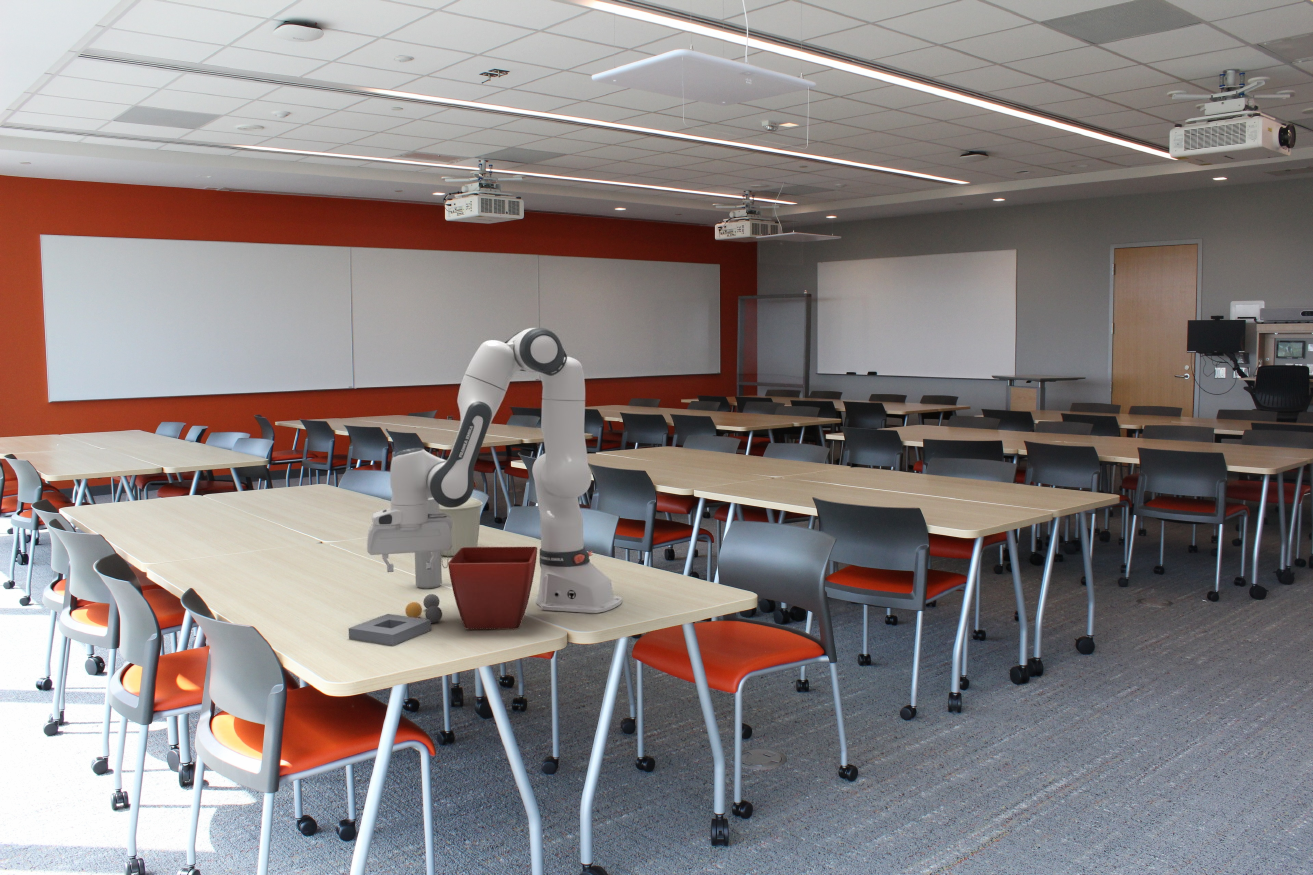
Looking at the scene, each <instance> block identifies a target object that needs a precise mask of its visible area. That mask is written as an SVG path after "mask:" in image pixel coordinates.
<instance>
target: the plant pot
mask: <svg viewBox="0 0 1313 875" xmlns="http://www.w3.org/2000/svg"><path fill="white" fill-rule="evenodd" d="M537 554H538V547H537V546H477V547H464V548H460V550H459V551H458V552H457V553H456V555H455V556H452V558H451V559H450V560H448V572H449V578H450V582H451V587H452V588H451V589H452V592H453V597H454V600H455V603H456V607H457V611H458V613H459V616H460V619H461V622H462V624H463V626H464V628H465V629H466V630H517V629H519V628H520V627H521V625H522V622H523V619H524V618H525V614H526V611H527V607H528V604H529V598H530V595H531V590H532V587H533V582H534V576H535V570H536V564H537V557H538V556H537Z"/></svg>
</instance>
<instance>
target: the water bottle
mask: <svg viewBox="0 0 1313 875" xmlns="http://www.w3.org/2000/svg"><path fill="white" fill-rule="evenodd" d="M428 514H440V507H439V504H438V503H437V502H436V501H435V500H434V498H429V499H428ZM446 557H447V558H449V556H448V553H447V556H446ZM431 558H432V555H431V552H416V553H414V570H415V574H414V575H415V586H417V587H418V588H419V589H424V590H425V589H428V590H429V589H435V588H438V587H440V586H441V584H442V583H443V580H442V579H443V578H442V577H443V575H442V567H443V569H448V568H449V566H448V562H449V560H447V564H446V566H444V564H443V563H444V561H443V560H442V555H441V551H438V556H437V558H436V559H435V561H434V563H433V569H432V570H427V564H426V562H428V561H430V560H431Z"/></svg>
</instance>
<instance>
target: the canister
mask: <svg viewBox="0 0 1313 875" xmlns="http://www.w3.org/2000/svg"><path fill="white" fill-rule="evenodd" d="M483 504H484V503H483V501H481V500H480V499H479V498H475V497H472V496H471V497H470V498H469V500H468V501H467V502H465V503H464V504H462V505H461V506H458V507H453V508H449V507H444V506H442V505H440V504H439V507H440V514H441V513H446V514H447V515H449V516H451V517H452V519H453V527H452V529H451V530H450V531H451V537H452V548H451V549H450V550H449V551H441V556H442V557H443V556H444V557H447V553H448V557H454V556H455V555H456V553H457V552H458V551H459V550H460V548H464V547H478V544H479V535H480V534H479V532H480V522H481V511H482V510H481V508H482V506H483ZM447 517H448V516H447Z"/></svg>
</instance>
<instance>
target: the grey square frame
mask: <svg viewBox="0 0 1313 875" xmlns="http://www.w3.org/2000/svg"><path fill="white" fill-rule="evenodd" d="M431 630H432V624H431V620H428V619H426V618H421V617H420V618H419V617H417V618H414V617H408V616H407V615H398V614H392V613H387V614H384V615H381V616H378V617H375V618H372V619H370V620H367V621H364V622H362V623H360V624H357V625H356V624H355V625H353V626H351V627H348V639H349V640H352V641H353V640H355V641H361V642H366V643H372V644H373V643H374V644H378V645H379V644H380V645H385V646H396V645H399V644H401V643H404V642H406V641H408V640H411V639H414V638H416V637H418V636H420V635H423V634H425V633H427V632H430V631H431Z"/></svg>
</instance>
